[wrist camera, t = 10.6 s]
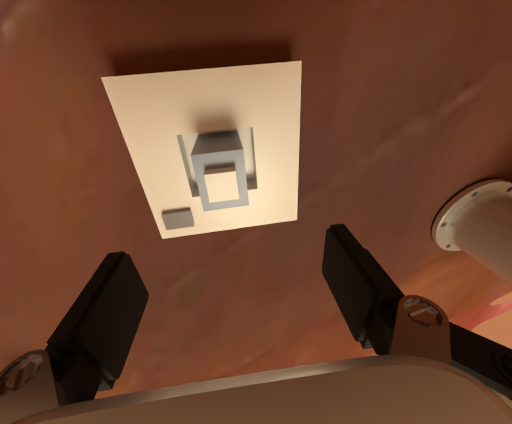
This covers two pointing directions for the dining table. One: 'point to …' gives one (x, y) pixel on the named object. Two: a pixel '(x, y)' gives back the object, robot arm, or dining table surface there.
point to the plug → (220, 170)
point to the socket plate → (212, 121)
